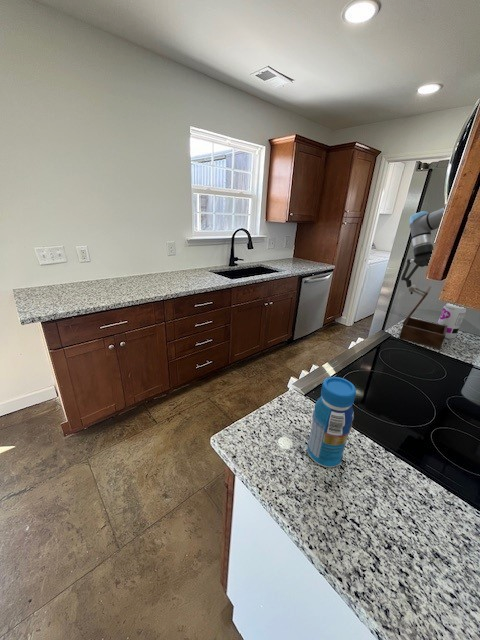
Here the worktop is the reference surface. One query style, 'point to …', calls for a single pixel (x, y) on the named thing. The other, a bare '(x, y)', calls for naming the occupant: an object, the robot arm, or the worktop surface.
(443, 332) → the storage bin
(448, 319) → the supplement can
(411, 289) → the bin lid
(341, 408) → the beverage bottle
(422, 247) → the robot arm
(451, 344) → the worktop surface
